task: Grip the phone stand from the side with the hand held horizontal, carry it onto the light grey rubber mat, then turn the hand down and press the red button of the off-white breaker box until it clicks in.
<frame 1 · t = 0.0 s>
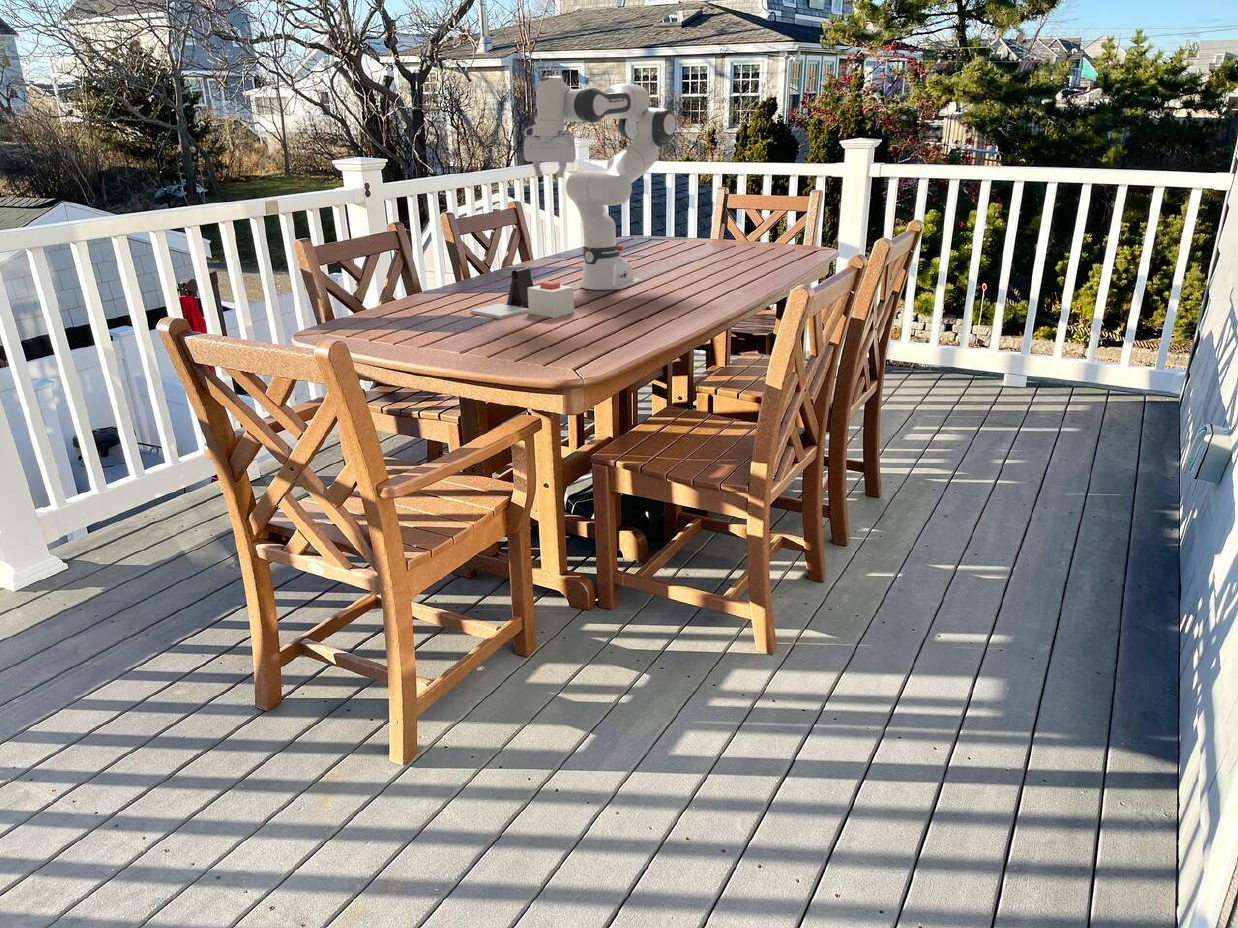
hand: (549, 177, 287), 39 cm above the table, tool pointing down, fingers open, 8 cm apart
breaker box: (551, 313, 281), on the table
phone stand: (523, 306, 291), on the table
grey mat: (500, 312, 283), on the table
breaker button: (550, 287, 278), point 8 cm above the table, slide at 0.0 cm
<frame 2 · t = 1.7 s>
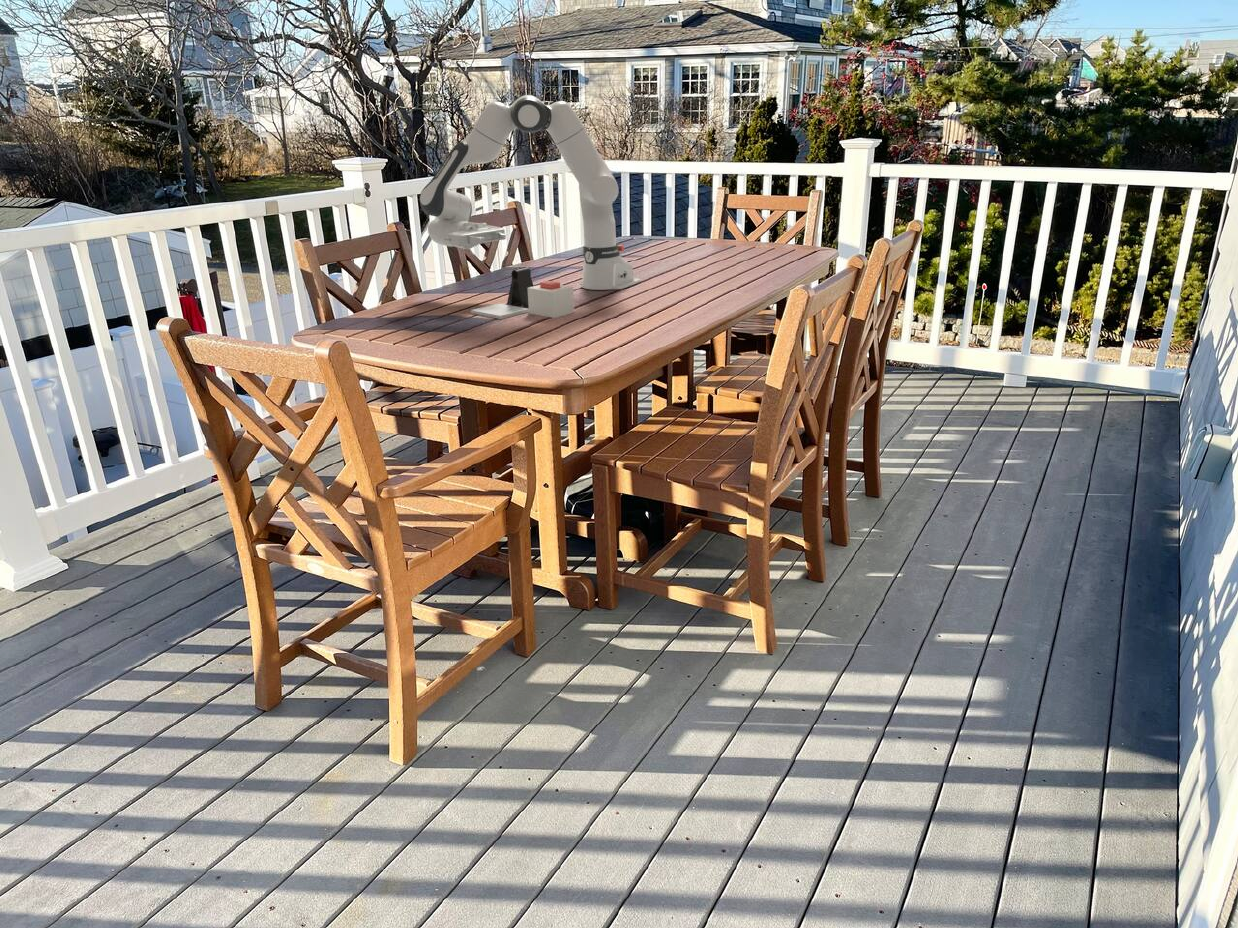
hand: (493, 238, 291), 20 cm above the table, tool horizontal, fingers open, 8 cm apart
nothing on the table moved.
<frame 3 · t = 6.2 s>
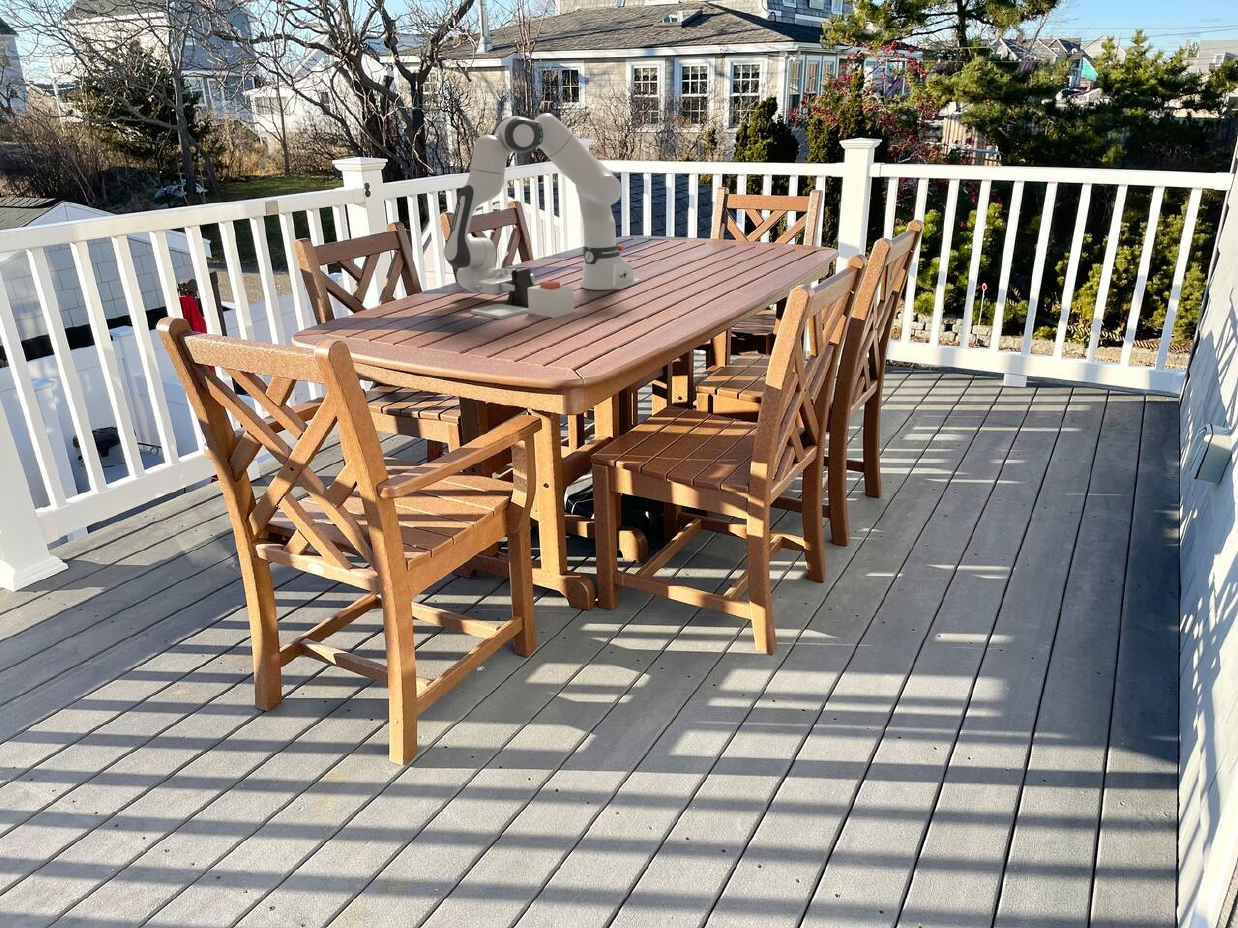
hand: (523, 286, 288), 7 cm above the table, tool horizontal, fingers closed on phone stand, 6 cm apart
phone stand: (523, 306, 291), on the table, touching gripper
everything else where it was.
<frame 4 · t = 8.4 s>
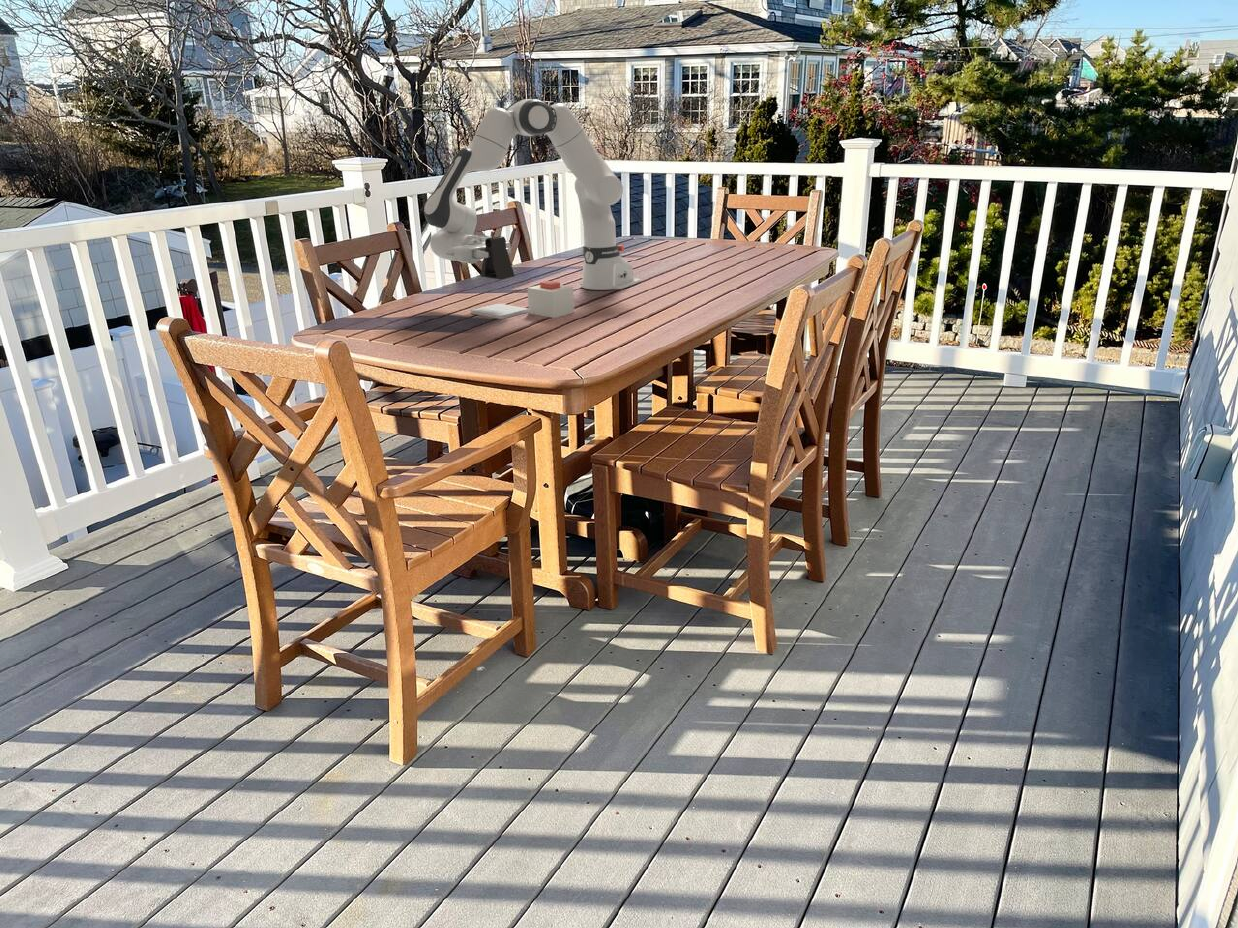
hand: (498, 253, 276), 18 cm above the table, tool horizontal, fingers closed on phone stand, 6 cm apart
phone stand: (497, 277, 280), point 11 cm above the table, touching gripper
everything else where it was.
when the fingers open (9 cm above the table, at t = 10.8 s): phone stand stays where it is, resting on grey mat.
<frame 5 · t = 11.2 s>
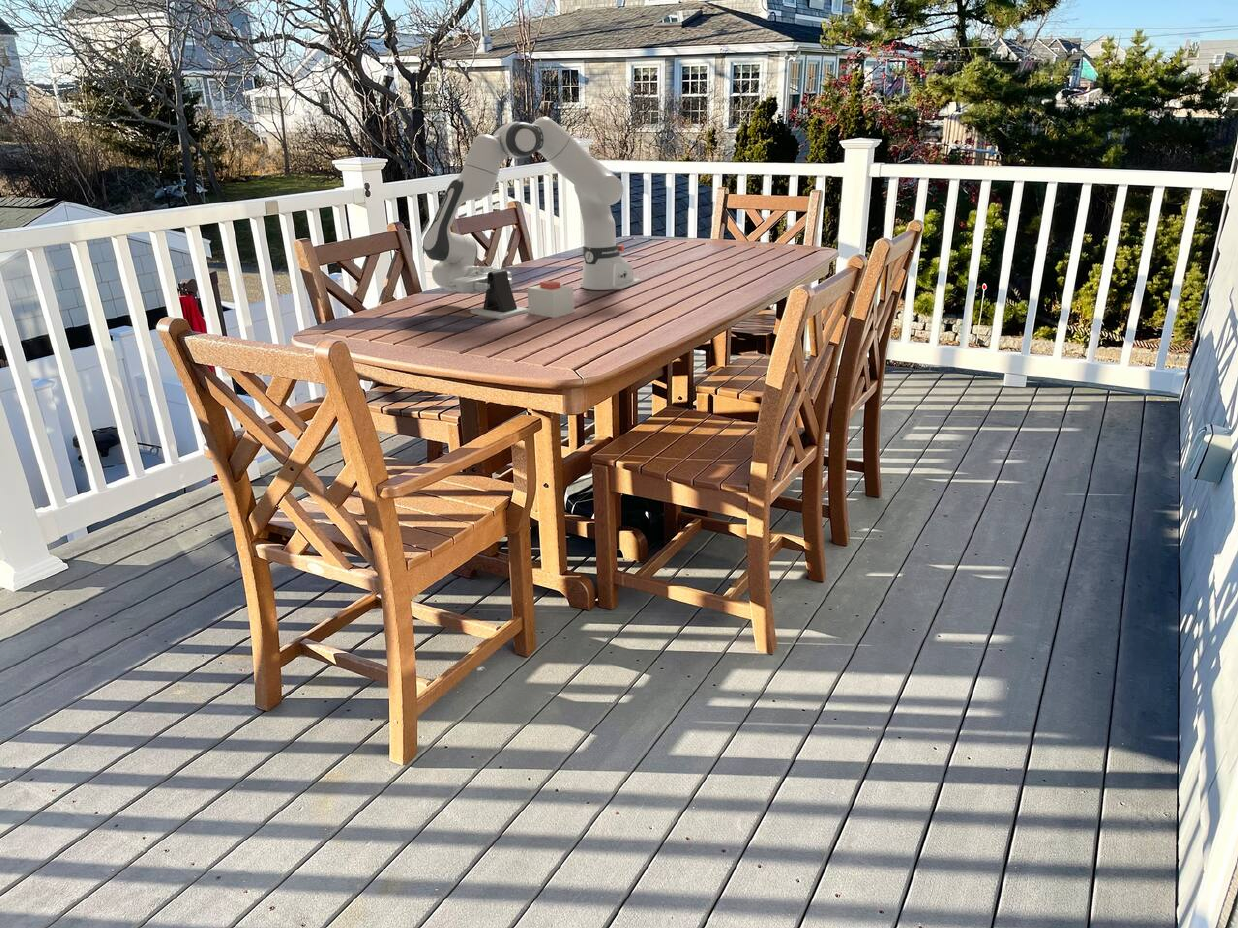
hand: (499, 284, 279), 9 cm above the table, tool horizontal, fingers open, 8 cm apart
phone stand: (500, 310, 283), point 1 cm above the table, touching grey mat
everything else where it was.
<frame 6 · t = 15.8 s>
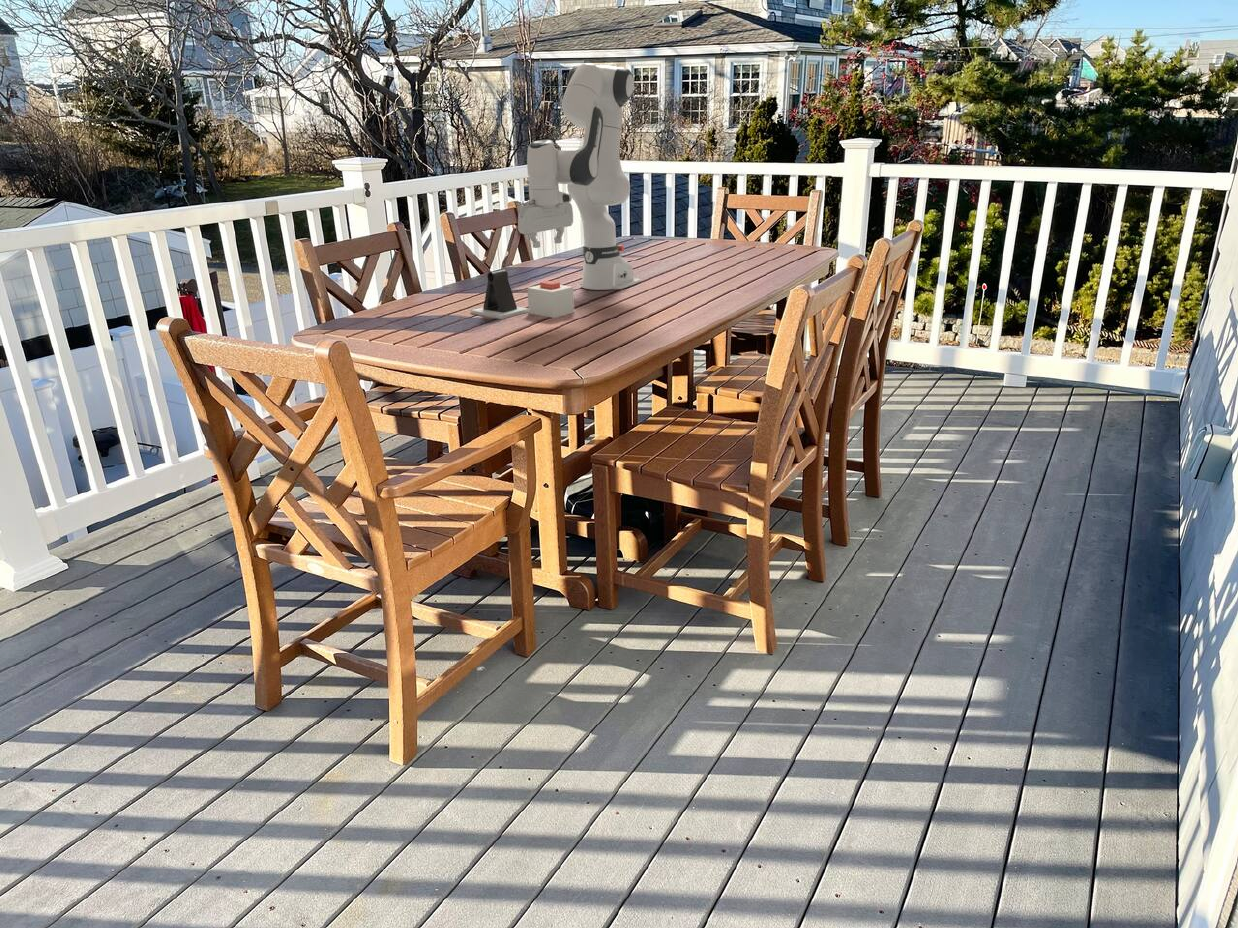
hand: (547, 245, 273), 21 cm above the table, tool pointing down, fingers open, 8 cm apart
nothing on the table moved.
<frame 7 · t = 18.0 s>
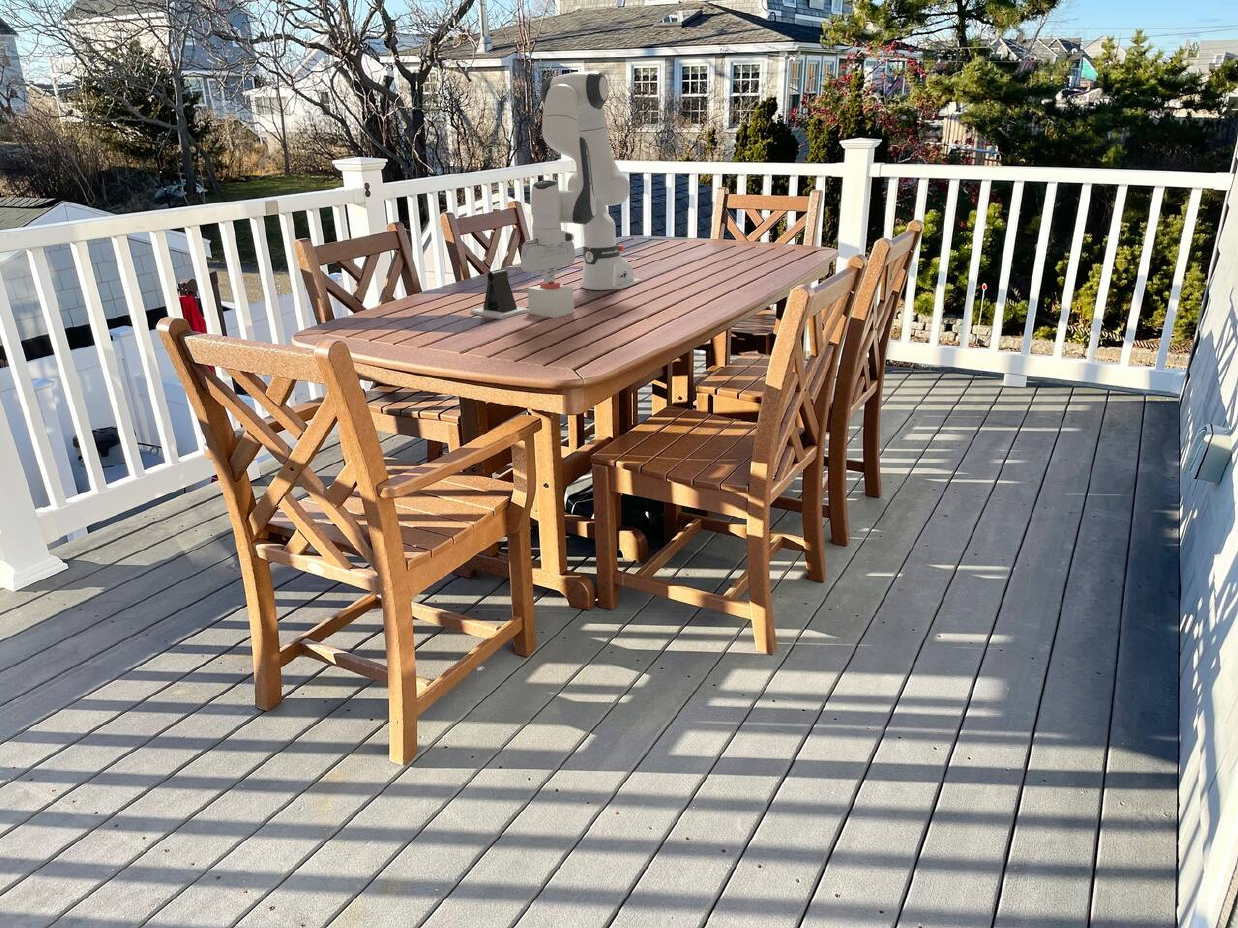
hand: (549, 283, 277), 9 cm above the table, tool pointing down, fingers closed, pressing on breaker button
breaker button: (550, 288, 278), point 8 cm above the table, slide at 0.2 cm, touching gripper
everything else where it was.
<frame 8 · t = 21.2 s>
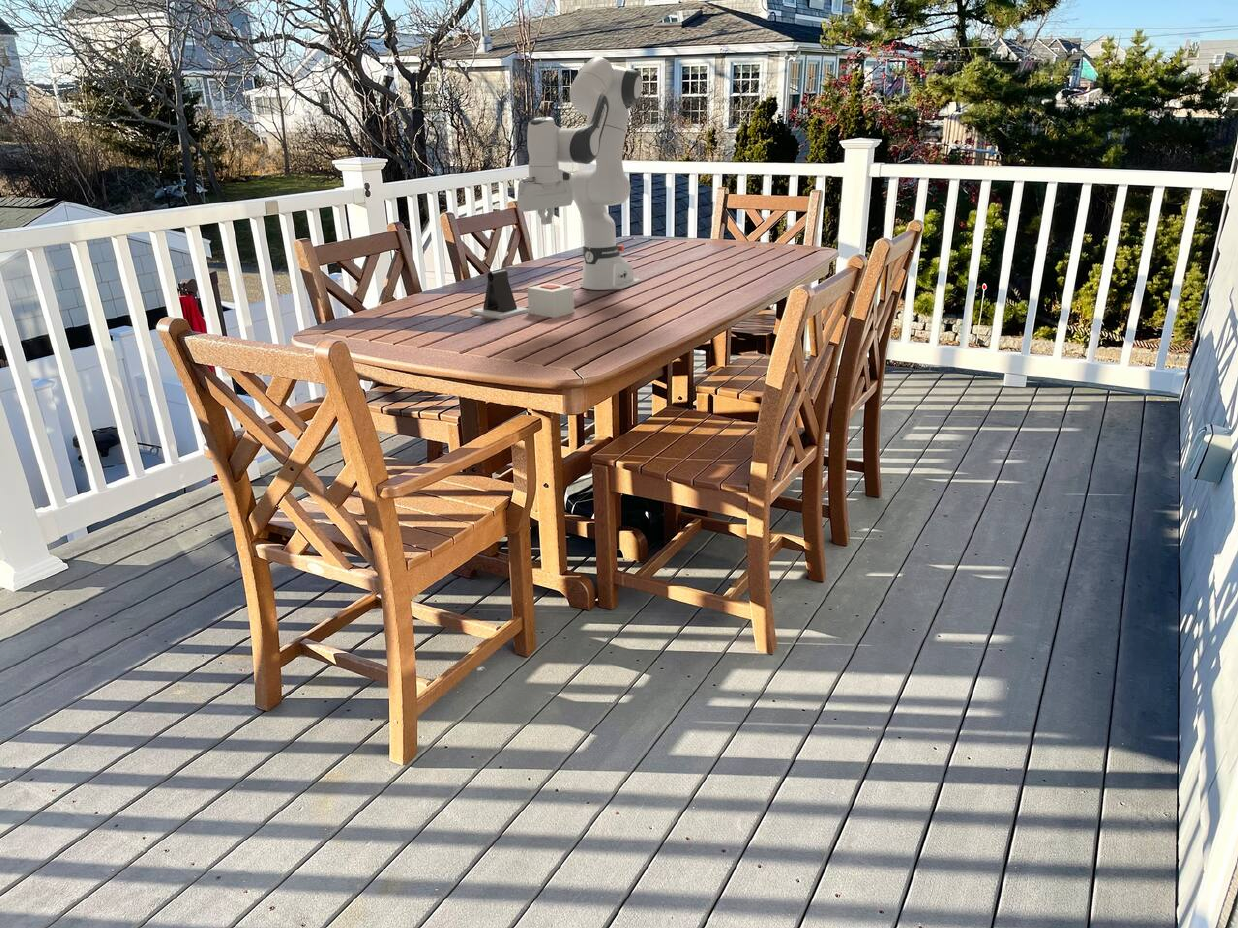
hand: (546, 224, 270), 27 cm above the table, tool pointing down, fingers closed
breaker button: (550, 291, 278), point 7 cm above the table, slide at 1.2 cm
everything else where it was.
at the end: phone stand inside the target area (0.2 cm from its centre), point 0.8 cm above the table; phone stand tilted 0°; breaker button slide at 1.2 cm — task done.
